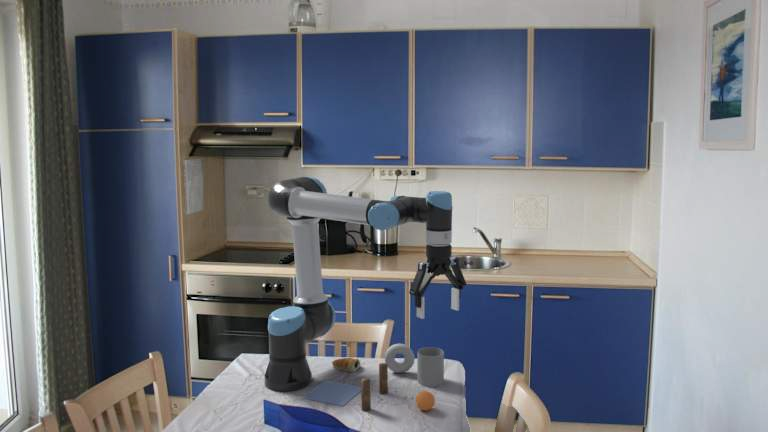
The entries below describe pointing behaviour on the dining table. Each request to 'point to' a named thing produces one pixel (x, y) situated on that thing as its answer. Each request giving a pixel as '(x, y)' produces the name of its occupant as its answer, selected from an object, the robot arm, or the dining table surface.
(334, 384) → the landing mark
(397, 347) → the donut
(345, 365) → the pastry
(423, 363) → the cup
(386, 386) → the post
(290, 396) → the dining table surface
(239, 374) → the dining table surface
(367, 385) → the post
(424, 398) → the ball
